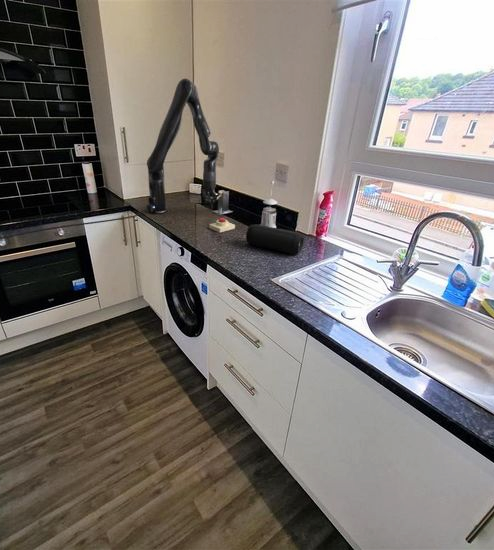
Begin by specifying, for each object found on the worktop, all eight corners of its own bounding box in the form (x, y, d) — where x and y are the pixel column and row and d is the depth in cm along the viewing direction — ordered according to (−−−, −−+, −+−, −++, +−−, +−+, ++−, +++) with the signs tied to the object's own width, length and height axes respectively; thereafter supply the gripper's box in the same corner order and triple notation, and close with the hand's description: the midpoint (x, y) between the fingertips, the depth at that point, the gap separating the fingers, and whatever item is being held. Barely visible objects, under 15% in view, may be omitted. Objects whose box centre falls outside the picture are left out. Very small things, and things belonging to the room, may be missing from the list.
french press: (277, 224, 178) (282, 180, 166) (274, 230, 168) (280, 184, 156) (260, 222, 180) (264, 178, 168) (257, 228, 170) (261, 182, 158)
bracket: (221, 216, 188) (221, 193, 182) (212, 213, 193) (213, 190, 187) (232, 213, 194) (234, 191, 188) (224, 210, 199) (225, 188, 193)
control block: (219, 232, 163) (219, 225, 161) (209, 228, 168) (209, 221, 167) (234, 228, 169) (235, 221, 167) (224, 224, 175) (224, 217, 173)
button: (221, 223, 165) (222, 220, 164) (217, 221, 167) (217, 218, 166) (226, 222, 167) (227, 219, 166) (222, 220, 169) (222, 217, 168)
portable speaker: (302, 251, 144) (305, 230, 140) (296, 258, 137) (299, 237, 132) (252, 239, 155) (254, 220, 150) (244, 246, 147) (245, 226, 142)
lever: (209, 207, 183) (208, 203, 181) (206, 206, 185) (204, 201, 183) (227, 195, 189) (226, 191, 187) (223, 194, 191) (222, 190, 189)
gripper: (196, 177, 179) (196, 206, 187) (212, 181, 170) (211, 212, 178) (207, 176, 183) (206, 204, 191) (222, 180, 174) (221, 210, 182)
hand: (209, 208), depth 185 cm, fingers closed on lever, 3 cm apart
